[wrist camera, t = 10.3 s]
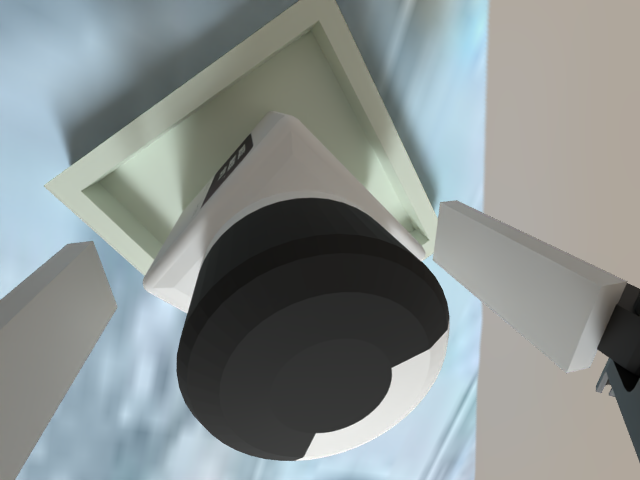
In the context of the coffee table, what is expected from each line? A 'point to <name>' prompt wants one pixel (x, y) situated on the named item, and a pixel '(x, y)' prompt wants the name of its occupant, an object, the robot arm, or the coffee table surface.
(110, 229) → the parts tray
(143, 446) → the coffee table surface
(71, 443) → the coffee table surface
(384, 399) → the container
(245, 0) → the coffee table surface
